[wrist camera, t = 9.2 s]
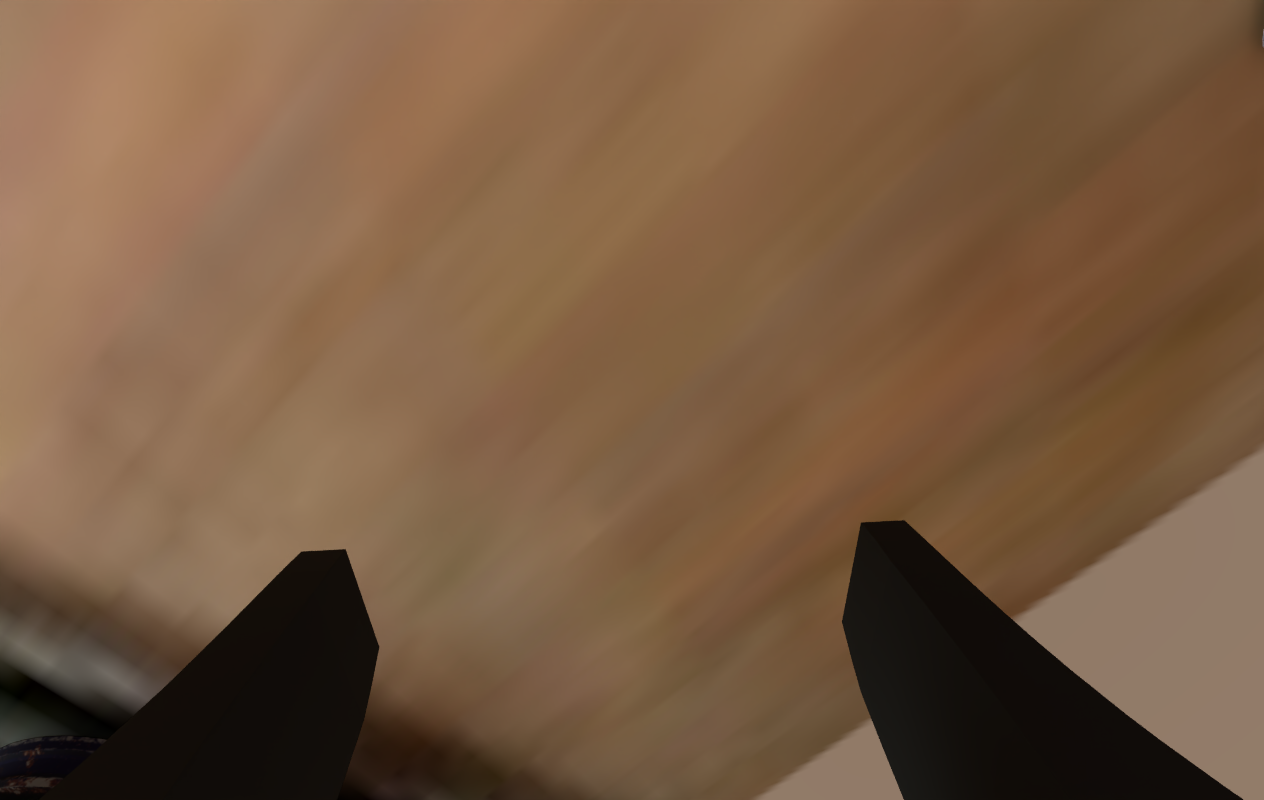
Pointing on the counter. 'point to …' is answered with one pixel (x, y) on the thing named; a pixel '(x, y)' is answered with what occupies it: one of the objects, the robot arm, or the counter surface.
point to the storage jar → (41, 764)
